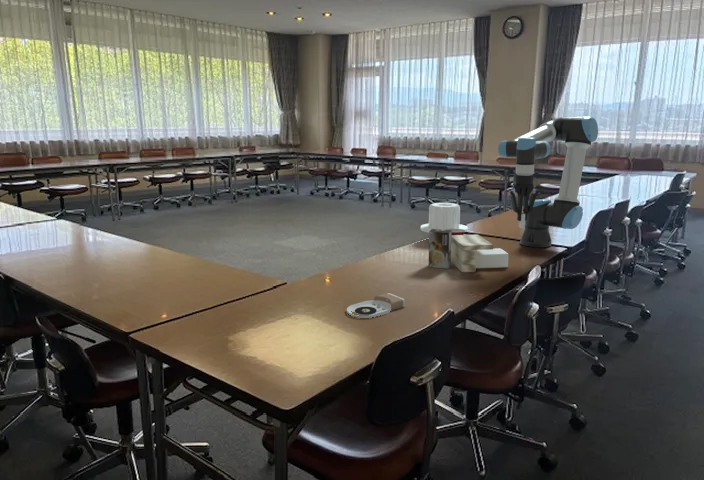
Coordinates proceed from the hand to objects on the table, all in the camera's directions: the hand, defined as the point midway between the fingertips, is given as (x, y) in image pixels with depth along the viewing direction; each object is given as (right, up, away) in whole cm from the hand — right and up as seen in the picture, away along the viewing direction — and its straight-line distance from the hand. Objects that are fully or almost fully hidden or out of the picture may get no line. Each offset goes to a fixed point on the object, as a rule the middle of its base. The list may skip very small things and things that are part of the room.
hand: (521, 227), depth 222 cm
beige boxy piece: (-23, -16, +2) cm, 28 cm away
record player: (-67, -30, -50) cm, 89 cm away
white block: (-15, -16, +2) cm, 22 cm away
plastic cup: (-26, -12, +22) cm, 36 cm away
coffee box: (-36, -17, +1) cm, 40 cm away
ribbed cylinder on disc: (-25, -5, +51) cm, 57 cm away
